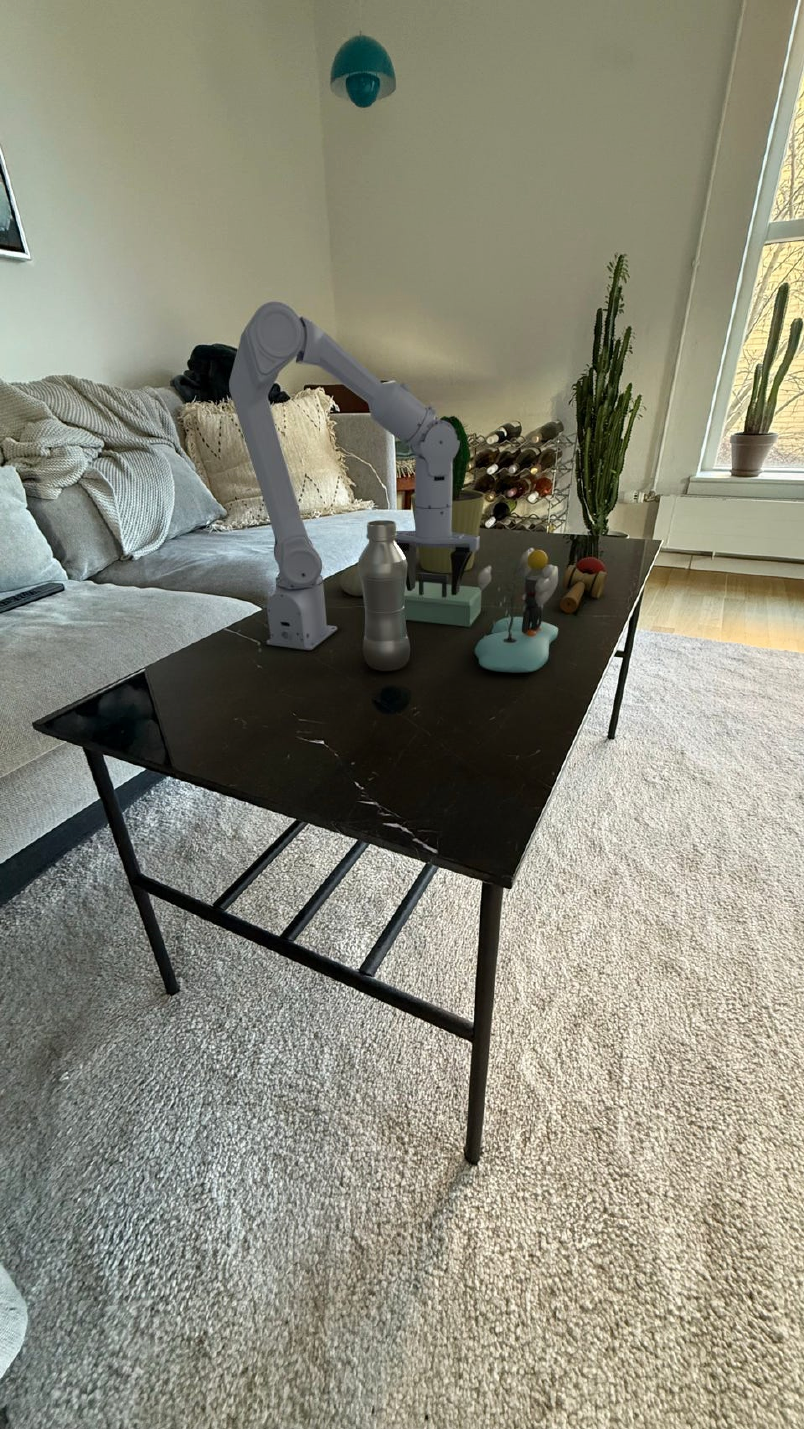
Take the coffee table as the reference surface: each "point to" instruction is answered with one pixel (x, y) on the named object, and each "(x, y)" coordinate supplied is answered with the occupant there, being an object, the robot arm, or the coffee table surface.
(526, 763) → the coffee table surface
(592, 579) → the kendama
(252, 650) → the coffee table surface
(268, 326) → the robot arm
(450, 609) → the teal open box
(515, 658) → the figurine on blue base
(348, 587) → the sea urchin shell
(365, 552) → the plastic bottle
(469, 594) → the lid
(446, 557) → the potted cactus
